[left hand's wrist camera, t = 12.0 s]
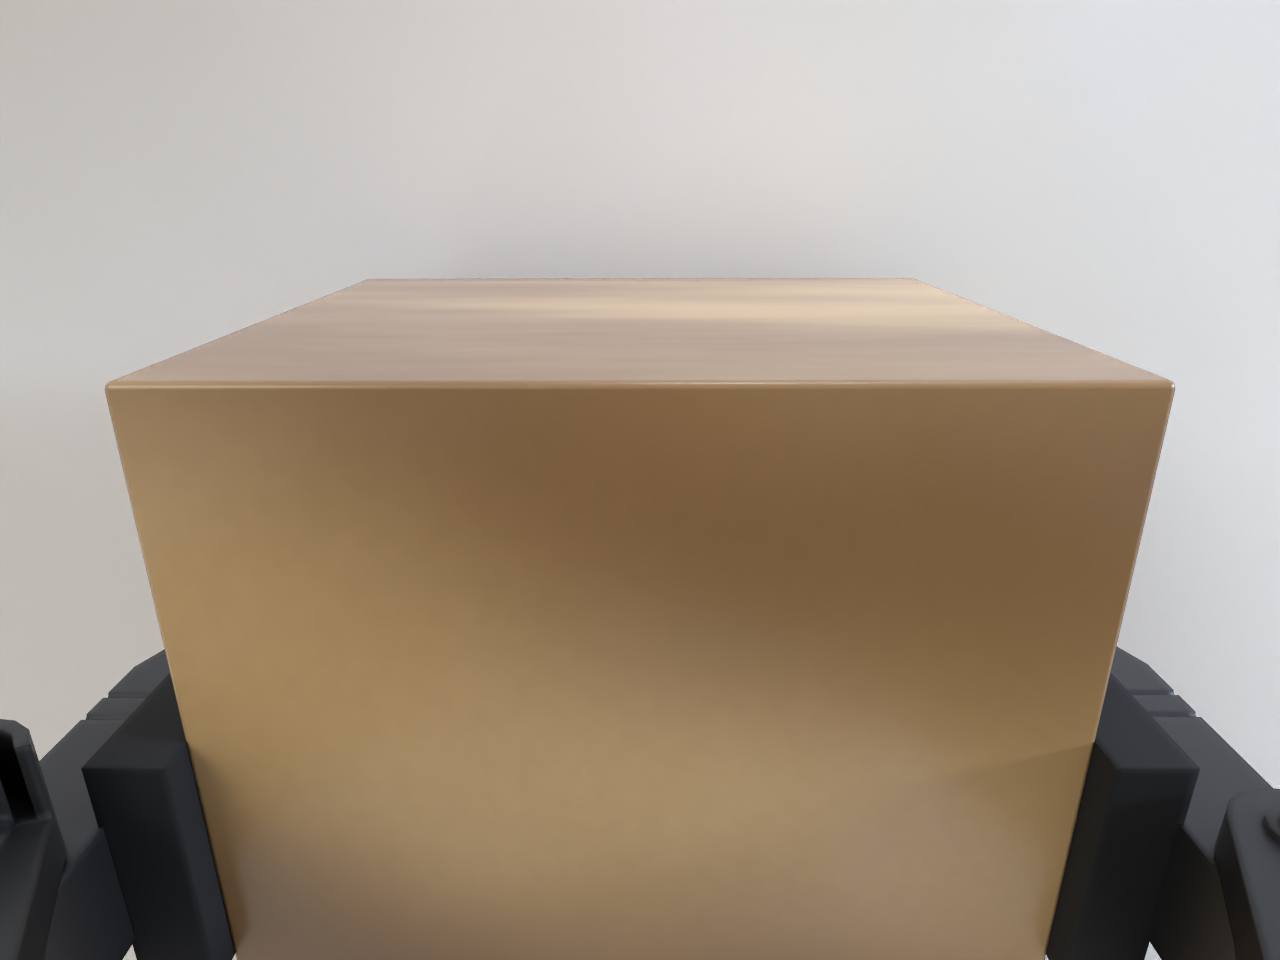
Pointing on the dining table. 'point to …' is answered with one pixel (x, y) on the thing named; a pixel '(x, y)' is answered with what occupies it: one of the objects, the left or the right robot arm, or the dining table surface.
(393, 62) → the dining table surface
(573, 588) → the brown striped wooden beam
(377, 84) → the dining table surface
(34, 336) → the dining table surface
